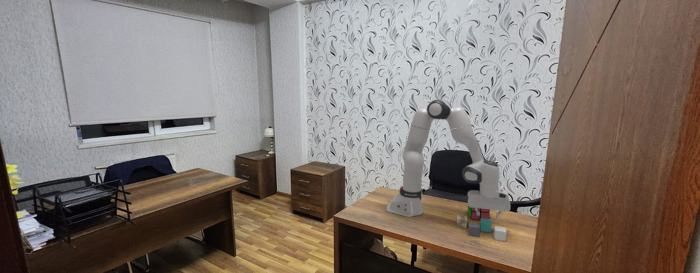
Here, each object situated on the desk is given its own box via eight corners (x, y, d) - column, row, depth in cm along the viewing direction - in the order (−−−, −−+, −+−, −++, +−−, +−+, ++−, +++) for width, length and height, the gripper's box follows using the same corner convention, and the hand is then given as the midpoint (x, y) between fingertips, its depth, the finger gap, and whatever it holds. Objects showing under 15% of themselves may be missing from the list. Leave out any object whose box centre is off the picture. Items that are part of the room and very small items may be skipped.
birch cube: (456, 227, 156) (457, 218, 156) (456, 223, 161) (457, 214, 160) (466, 228, 155) (466, 220, 154) (466, 224, 159) (466, 216, 158)
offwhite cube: (494, 239, 144) (495, 230, 143) (493, 234, 148) (494, 225, 147) (505, 241, 142) (506, 232, 141) (504, 236, 146) (505, 227, 145)
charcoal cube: (468, 235, 148) (469, 226, 147) (468, 230, 152) (469, 222, 152) (479, 237, 146) (479, 228, 145) (478, 232, 151) (479, 223, 150)
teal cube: (480, 231, 152) (481, 222, 151) (480, 226, 157) (480, 218, 156) (491, 232, 150) (491, 223, 149) (490, 228, 155) (490, 219, 154)
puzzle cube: (489, 220, 163) (490, 204, 162) (470, 219, 165) (471, 203, 164) (484, 213, 173) (486, 197, 171) (467, 211, 175) (468, 196, 173)
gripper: (467, 191, 151) (467, 216, 153) (511, 195, 144) (510, 221, 146) (467, 187, 157) (466, 211, 159) (509, 191, 149) (508, 216, 152)
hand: (487, 216), depth 152 cm, fingers open, 8 cm apart
